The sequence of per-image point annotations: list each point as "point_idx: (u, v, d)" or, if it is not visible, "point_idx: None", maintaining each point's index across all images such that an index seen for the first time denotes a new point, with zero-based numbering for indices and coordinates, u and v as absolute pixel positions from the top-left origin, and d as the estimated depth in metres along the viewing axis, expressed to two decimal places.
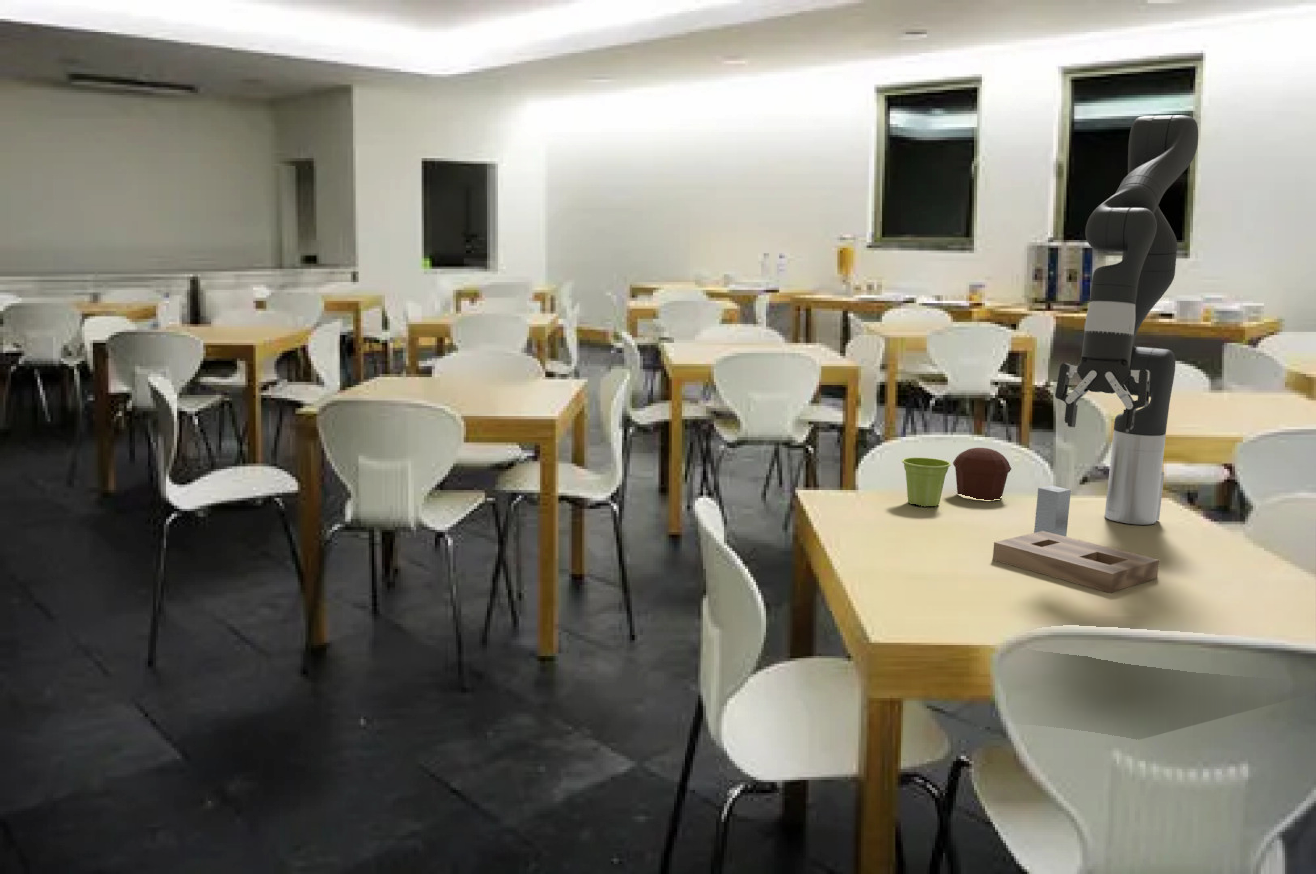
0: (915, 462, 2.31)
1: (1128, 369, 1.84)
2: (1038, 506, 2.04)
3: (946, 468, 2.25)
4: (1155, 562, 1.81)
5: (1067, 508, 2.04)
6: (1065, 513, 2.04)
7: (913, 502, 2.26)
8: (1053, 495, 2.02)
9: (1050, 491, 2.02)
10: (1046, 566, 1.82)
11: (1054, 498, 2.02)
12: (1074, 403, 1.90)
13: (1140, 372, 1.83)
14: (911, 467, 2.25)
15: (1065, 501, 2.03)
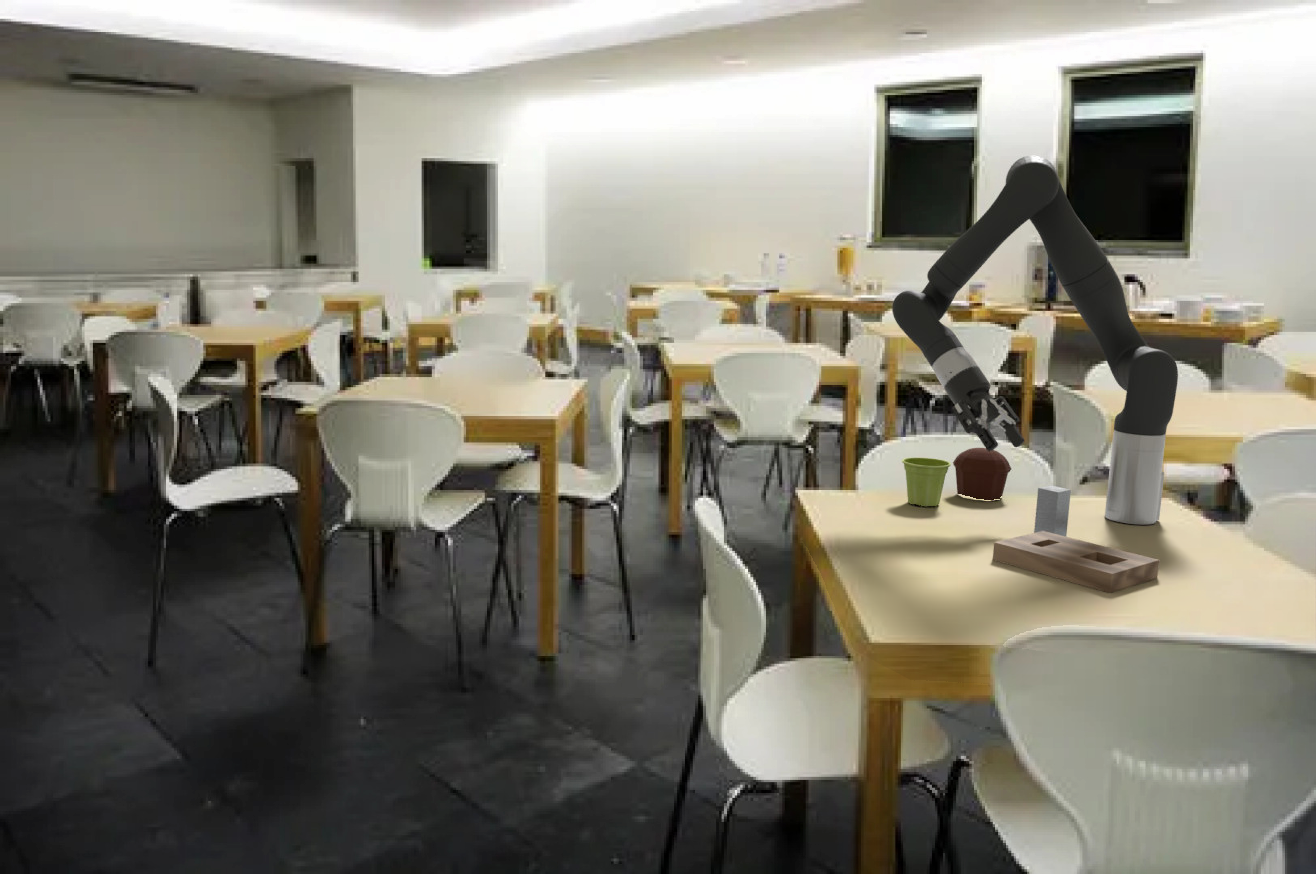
0: (915, 462, 2.31)
1: None
2: (1038, 506, 2.04)
3: (946, 468, 2.25)
4: (1155, 562, 1.81)
5: (1067, 508, 2.04)
6: (1065, 513, 2.04)
7: (913, 502, 2.26)
8: (1053, 495, 2.02)
9: (1050, 491, 2.02)
10: (1046, 566, 1.82)
11: (1054, 498, 2.02)
12: (1007, 428, 2.15)
13: None
14: (911, 467, 2.25)
15: (1065, 501, 2.03)
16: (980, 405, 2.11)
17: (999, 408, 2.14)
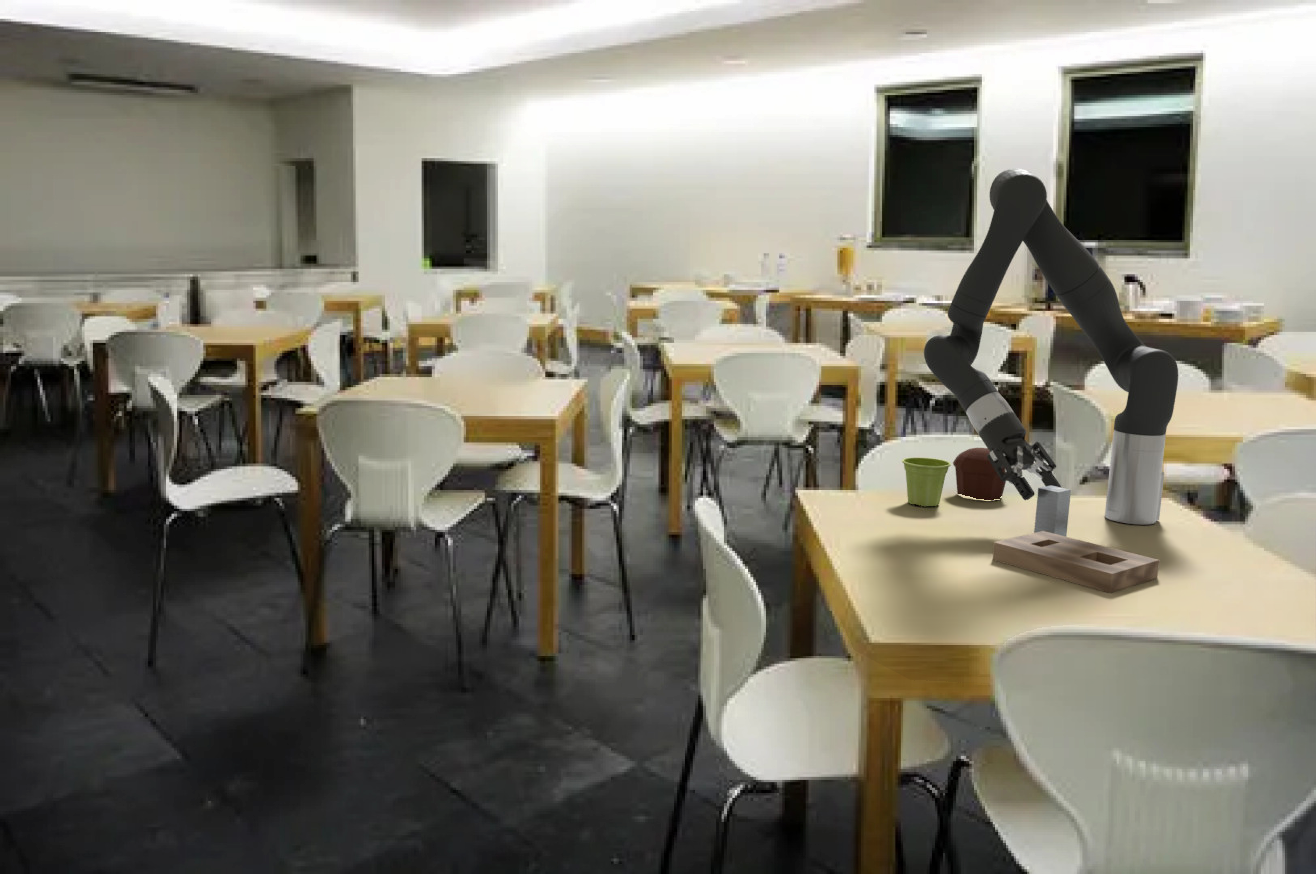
0: (915, 462, 2.31)
1: None
2: (1038, 506, 2.04)
3: (946, 468, 2.25)
4: (1155, 562, 1.81)
5: (1067, 508, 2.04)
6: (1065, 513, 2.04)
7: (913, 502, 2.26)
8: (1053, 495, 2.02)
9: (1050, 491, 2.02)
10: (1046, 566, 1.82)
11: (1054, 498, 2.02)
12: (1044, 475, 2.10)
13: None
14: (911, 467, 2.25)
15: (1065, 502, 2.03)
16: (1016, 452, 2.07)
17: (1035, 455, 2.09)
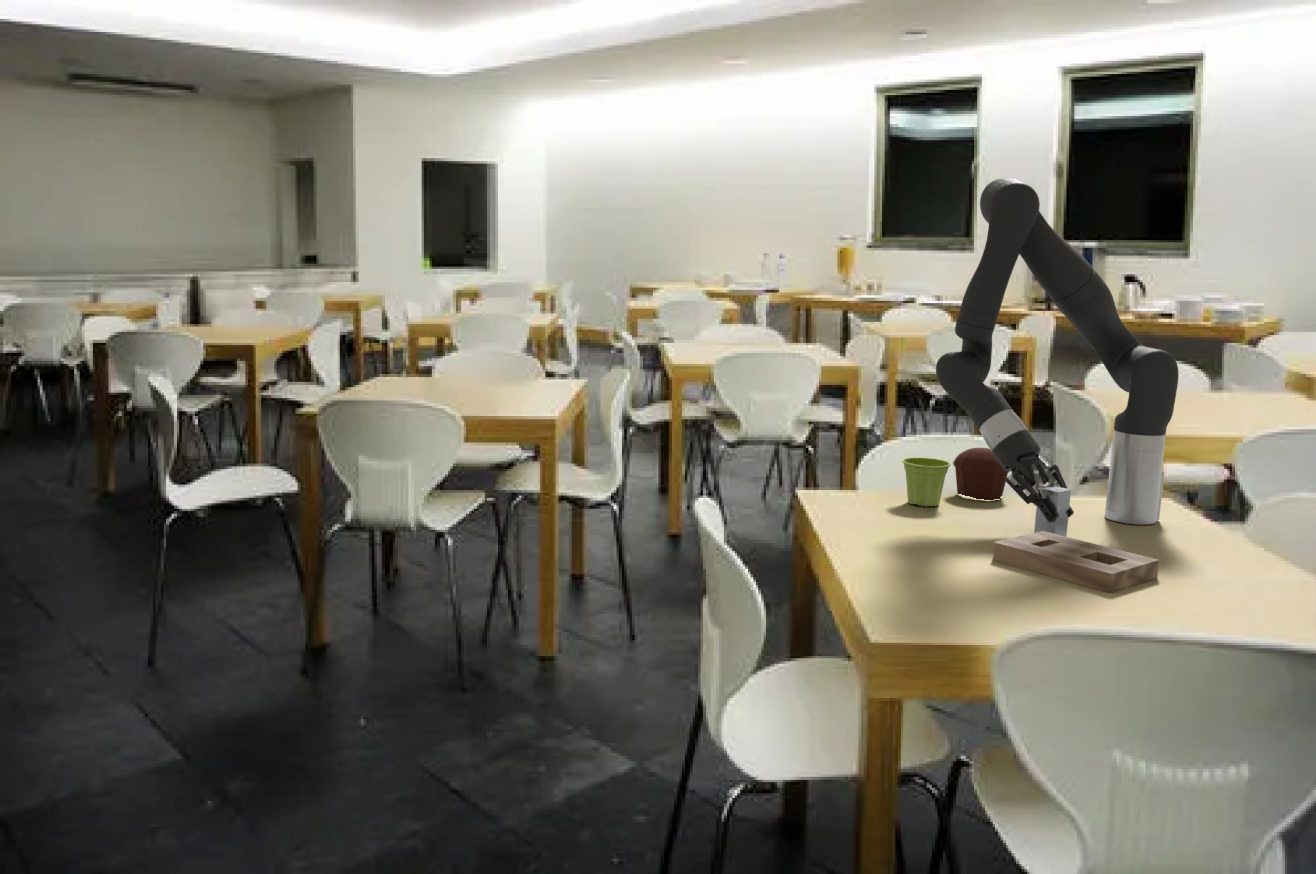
0: (915, 462, 2.31)
1: (1012, 473, 2.06)
2: None
3: (946, 468, 2.25)
4: (1155, 562, 1.81)
5: (1067, 508, 2.04)
6: (1065, 513, 2.04)
7: (913, 502, 2.26)
8: (1053, 495, 2.02)
9: (1050, 491, 2.02)
10: (1046, 566, 1.82)
11: (1054, 498, 2.02)
12: None
13: None
14: (911, 467, 2.25)
15: (1065, 501, 2.03)
16: (1032, 472, 2.05)
17: (1048, 474, 2.06)
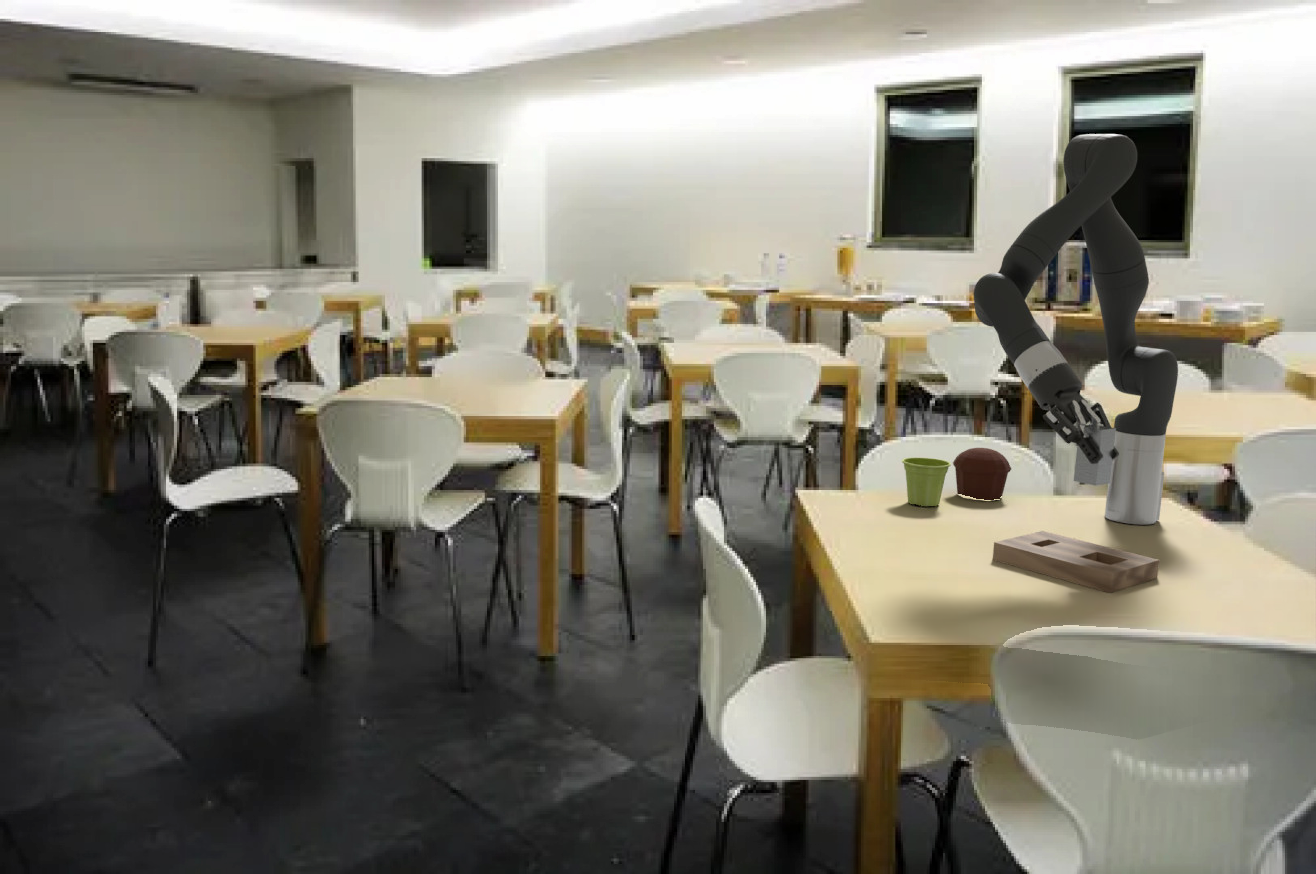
0: (915, 462, 2.31)
1: (1050, 410, 1.85)
2: None
3: (946, 468, 2.25)
4: (1155, 562, 1.81)
5: (1111, 449, 1.83)
6: (1109, 454, 1.83)
7: (913, 502, 2.26)
8: (1096, 433, 1.82)
9: (1093, 429, 1.82)
10: (1046, 566, 1.82)
11: (1097, 437, 1.81)
12: None
13: None
14: (911, 467, 2.25)
15: (1109, 441, 1.83)
16: (1073, 409, 1.84)
17: (1091, 412, 1.86)
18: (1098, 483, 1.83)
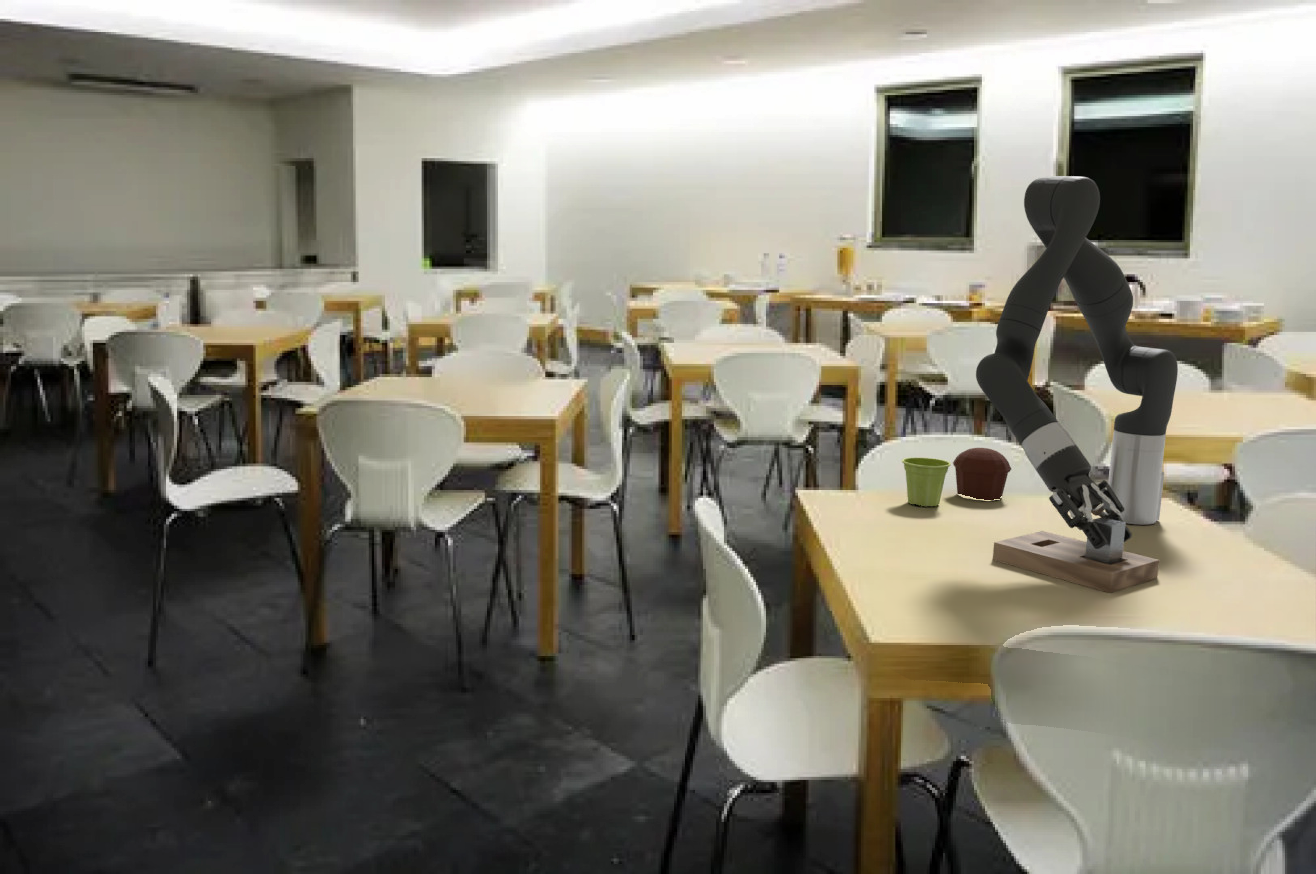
0: (915, 462, 2.31)
1: None
2: (1088, 541, 1.81)
3: (946, 468, 2.25)
4: (1155, 562, 1.81)
5: (1121, 543, 1.81)
6: (1119, 548, 1.80)
7: (913, 502, 2.26)
8: (1106, 529, 1.79)
9: (1103, 524, 1.79)
10: (1046, 566, 1.82)
11: (1108, 532, 1.78)
12: None
13: None
14: (911, 467, 2.25)
15: (1119, 536, 1.80)
16: (1081, 492, 1.81)
17: (1102, 495, 1.83)
18: None
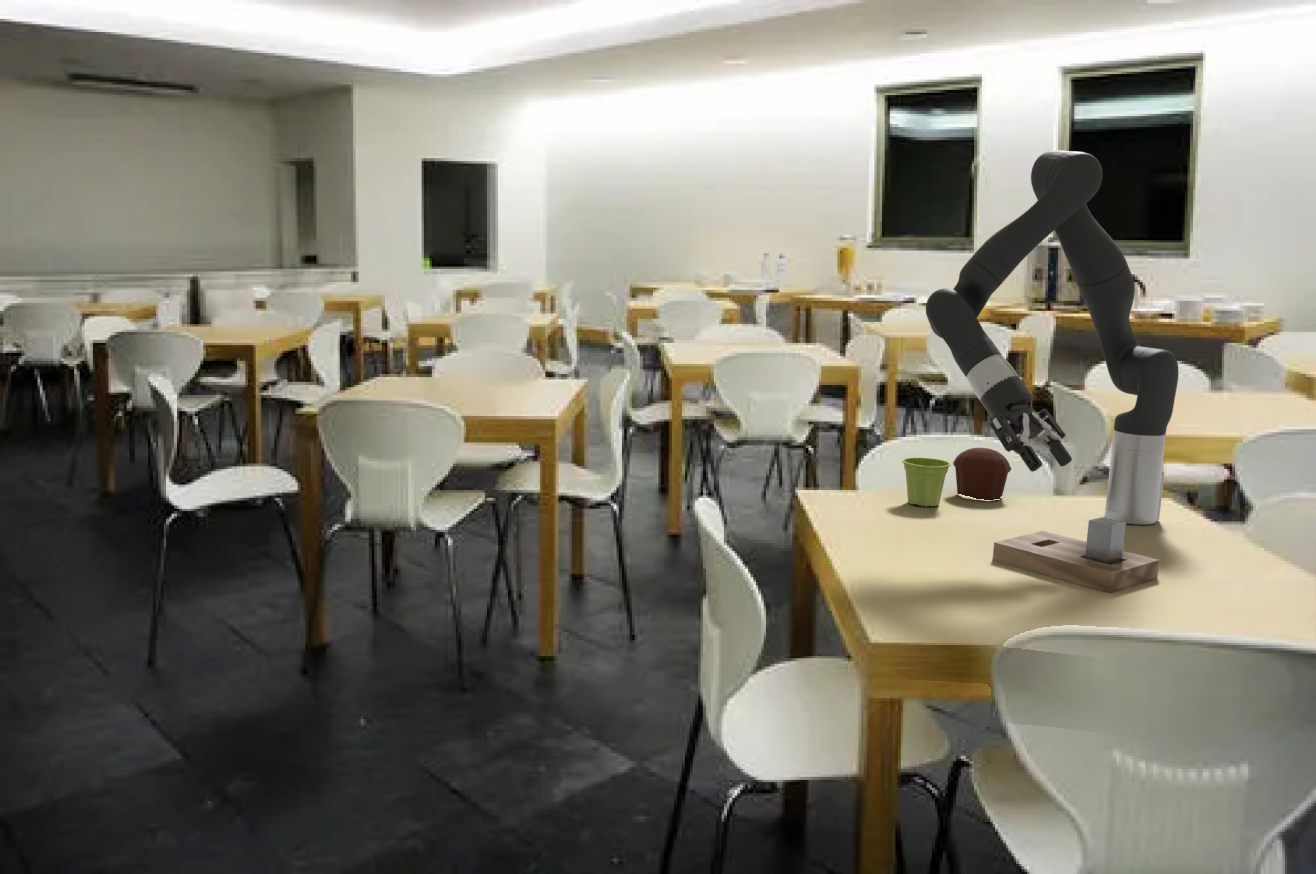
0: (915, 462, 2.31)
1: None
2: (1089, 541, 1.81)
3: (946, 468, 2.25)
4: (1155, 562, 1.81)
5: (1121, 543, 1.81)
6: (1120, 548, 1.80)
7: (913, 502, 2.26)
8: (1106, 529, 1.79)
9: (1103, 524, 1.79)
10: (1046, 566, 1.82)
11: (1108, 532, 1.78)
12: (1052, 445, 1.92)
13: None
14: (911, 467, 2.25)
15: (1119, 536, 1.80)
16: (1021, 419, 1.88)
17: (1043, 422, 1.91)
18: None
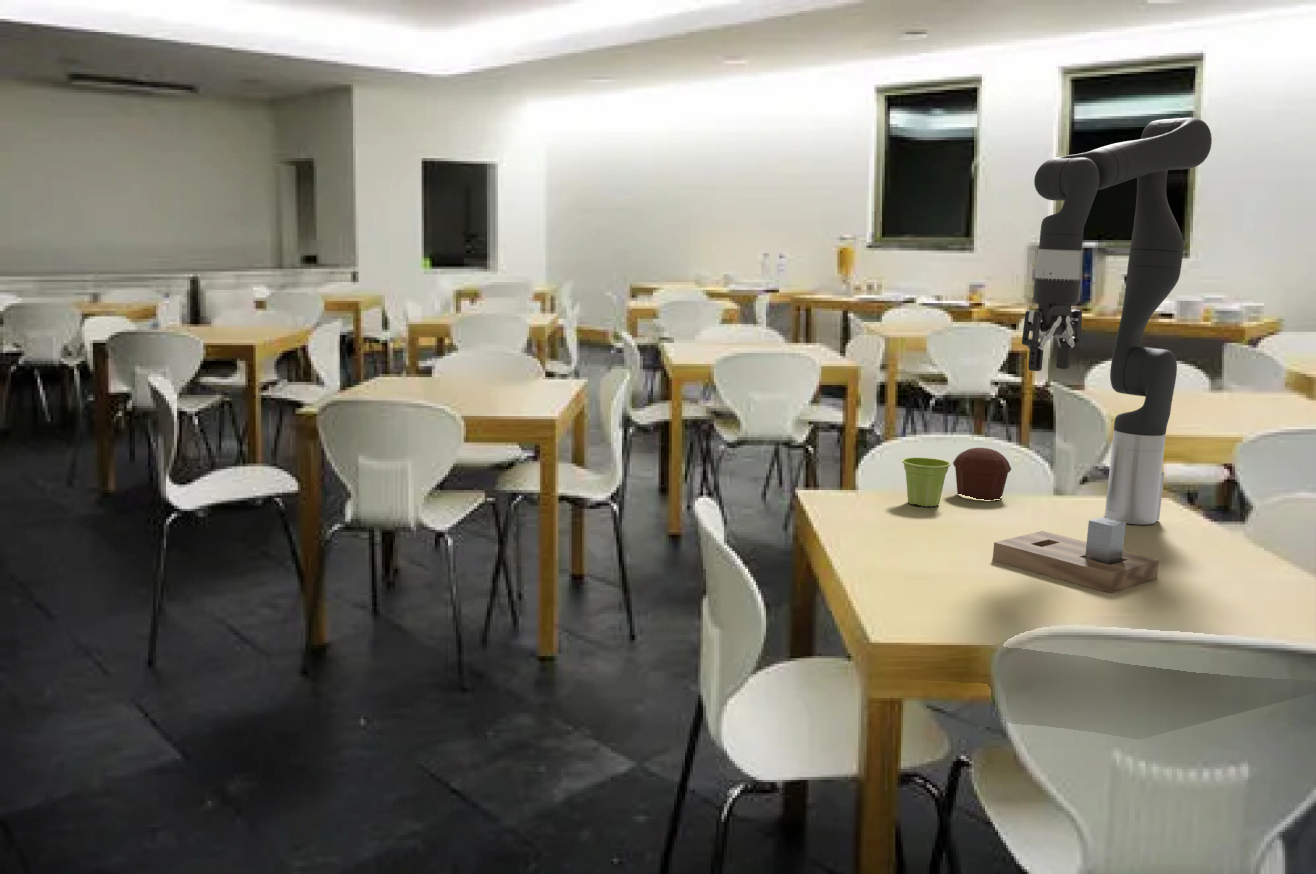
0: (915, 462, 2.31)
1: (1037, 311, 1.97)
2: (1089, 541, 1.81)
3: (946, 468, 2.25)
4: (1155, 562, 1.81)
5: (1121, 543, 1.81)
6: (1120, 548, 1.80)
7: (913, 502, 2.26)
8: (1106, 529, 1.79)
9: (1103, 524, 1.79)
10: (1046, 566, 1.82)
11: (1108, 532, 1.78)
12: (1063, 346, 2.03)
13: None
14: (911, 467, 2.25)
15: (1119, 536, 1.80)
16: (1053, 321, 1.97)
17: (1069, 328, 2.00)
18: None
